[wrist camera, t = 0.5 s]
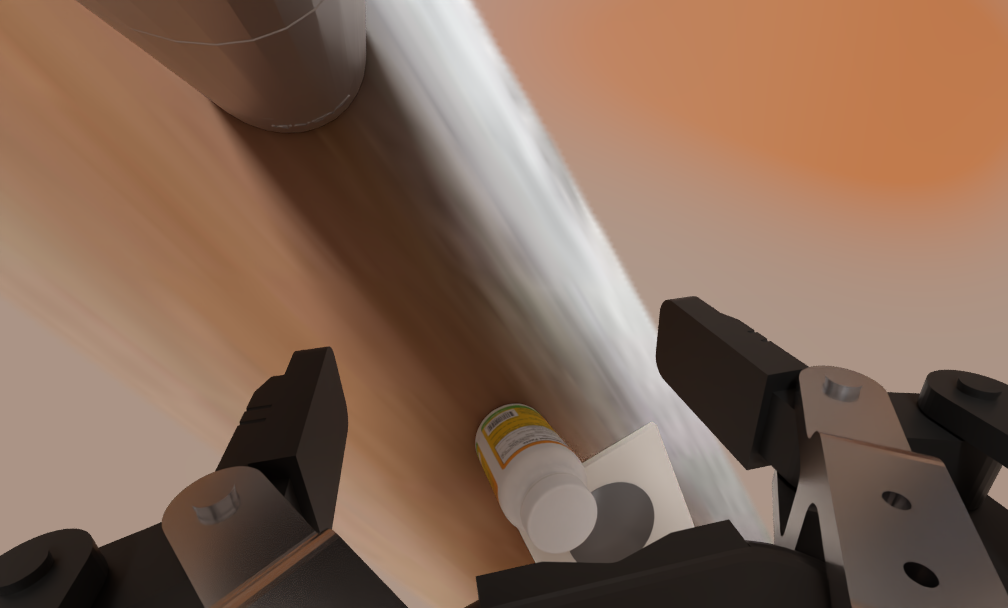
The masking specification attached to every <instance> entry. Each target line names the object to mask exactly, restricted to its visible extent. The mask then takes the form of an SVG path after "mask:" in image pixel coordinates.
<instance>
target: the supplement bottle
mask: <svg viewBox="0 0 1008 608" xmlns="http://www.w3.org/2000/svg"><path fill="white" fill-rule="evenodd" d="M475 448H476V453H477V456H478V458H479V461H480V463H481V465H482V467H483V469H484V472H485V474H486V476H487V478H488V480H489V483H490V485H491V487H492V489H493V491H494V494H495V496H496V498H497V500H498V503H499V505H500V507H501V509H502V511H503V513H504V514H505V516H506V518H507V519H508V520H509V521H510V522H511V523H512V524H513V525H514V526H515V527H517V528H519V529H520V530H523V531H525V532H527V534H528V536H529V538H530V540H531V541H532V543H533V544H534V545H535V546H536V547H537V548H538V549H540V550H542V551H544V552H547V553H551V554H559V553H565V552H568V551H570V550H572V549H574V548H576V547H577V546H579V545H580V544H581V543H583V542H584V541H585V540H586V538H587V537H588V536H589V535H590V533H591V532H592V530H593V528H594V526H595V523H596V519H597V505H596V501H595V499H594V497H593V495H592V494H591V492H590V491H589V490H588V488H587V476H586V471H585V469H584V466H583V464H582V463H581V461H580V460H579V458H578V457H577V456H576V455H575V453H574V452H573V451H572V450H571V449H570V448H569V447H568V446H567V444H566V443H565V442H564V441H563V440H562V439H561V438H560V436H559V435H558V434H557V433H556V432H555V431H554V430H553V428H552V427H551V426H550V425H549V424H548V423H547V421H546V420H545V419H544V418H543V417H542V416H541V415H540V414H539V413H538V412H537V411H536V410H535V409H533V408H531V407H529V406H527V405H523V404H507V405H504V406H501V407H499V408H497V409H495V410H493V411H492V412H491V413H489V414H488V415H487V416H486V417H485V418H484V420H483V421H482V422H481V424H480V426H479V428H478V431H477V434H476V439H475Z"/></svg>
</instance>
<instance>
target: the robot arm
mask: <svg viewBox="0 0 1008 608" xmlns="http://www.w3.org/2000/svg"><path fill="white" fill-rule="evenodd" d="M76 1H78V2H79V3H80V4H82V5H83V6H84V7H86V8H87V9H88V10H90V11H91V12H92V13H94V14H95V15H97V16H98V17H99V18H101V19H102V20H103V21H105V22H106V23H107V24H109V25H110V26H111V27H113V28H114V29H115V30H117V31H118V32H120V33H121V34H122V35H124V36H125V37H126V38H128V39H129V40H130V41H132V42H133V43H134V44H136V45H137V46H138V47H140V48H141V49H143V50H144V51H145V52H147V53H148V54H149V55H151V56H152V57H153V58H155V59H156V60H157V61H159V62H160V63H161V64H163V65H164V66H165V67H167V68H168V69H170V70H171V71H172V72H174V73H175V74H176V75H178V76H179V77H180V78H182V79H183V80H184V81H186V82H187V83H188V84H190V85H191V86H193V87H194V88H195V89H196V90H198V91H199V92H200V93H202V94H203V95H204V96H206V97H207V98H208V99H210V100H211V101H212V102H214V103H215V104H216V105H218V106H219V107H221V108H222V109H223V110H225V111H226V112H227V113H229V114H231V115H232V116H234V117H236V118H238V119H239V120H241V121H243V122H245V123H247V124H249V125H252V126H255V127H258V128H261V129H264V130H268V131H275V132H282V133H291V132H304V131H308V130H311V129H315V128H319V127H321V126H323V125H325V124H327V123H329V122H330V121H332V120H334V119H336V118H337V117H338V116H339V115H340V114H341V113H342V112H343V111H345V110H346V109H347V108H348V107H349V105H350V104H351V102H352V101H353V99H354V98H355V96H356V95H357V93H358V91H359V88H360V85H361V83H362V80H363V78H364V71H365V65H366V0H76ZM656 363H657V367H658V370H659V373H660V375H661V377H662V378H663V379H664V380H665V381H666V383H667V384H668V385H669V386H670V387H671V388H672V389H673V390H674V391H675V392H676V393H677V395H678V396H679V397H680V398H681V399H682V400H683V401H684V402H685V403H686V404H687V405H688V407H689V408H690V409H691V410H692V411H693V412H694V413H695V414H696V415H697V416H698V418H699V419H700V420H701V421H702V422H703V423H704V424H705V425H706V426H707V427H708V428H709V430H710V431H711V432H712V433H713V434H714V435H715V436H716V437H717V438H718V439H719V440H720V442H721V443H722V444H723V445H724V446H725V447H726V448H727V449H728V450H729V451H730V452H731V454H732V455H733V456H734V457H735V458H736V459H737V460H738V461H739V462H740V463H741V464H742V465H743V467H744V468H745V469H746V470H750V469H755V468H760V467H765V466H769V465H772V467H773V468H774V469H775V472H774V476H773V480H772V497H773V520H774V521H773V522H774V544H769V543H763V542H756V541H747V540H744V539H743V537H742V536H741V535H740V533H739V532H738V531H737V529H736V528H735V527H734V526H733V524H732V523H731V522H730V520H725V521H720V522H716V523H711V524H707V525H702V526H698V527H694V528H689V529H685V530H680V531H676V532H671V533H669V534H667V535H666V536H664V537H662V538H660V539H658V540H657V541H655V542H653V543H651V544H649V545H648V546H646V547H644V548H642V549H640V550H639V551H637V552H635V553H633V554H631V555H629V556H628V557H626V558H624V559H622V560H620V561H618V562H614V563H585V562H538V563H534V564H529V565H525V566H520V567H516V568H511V569H507V570H502V571H498V572H494V573H489V574H485V575H480V576H476V582H477V590H478V598H479V600H477V601H476V602H474V603H472V604H470V605H468V606H466V607H465V608H1008V510H1007V509H1006V508H1005V507H1003V506H1002V505H1001V504H999V503H998V502H996V501H995V500H994V499H992V498H991V497H990V496H988V495H987V494H988V492H989V490H990V488H991V486H992V484H993V482H994V480H995V479H996V476H997V475H998V473H999V471H1000V469H1001V467H1002V465H1003V466H1005V467H1006V468H1008V385H1007V384H1004V383H1002V382H1000V381H997V380H995V379H992V378H989V377H986V376H982V375H979V374H975V373H970V372H965V371H957V370H938V371H934V372H931V373H929V374H928V375H927V378H926V380H925V383H924V385H923V388H922V390H921V393H920V394H916V393H892V392H886V390H885V389H884V388H883V387H882V386H881V385H880V384H879V383H877V382H876V381H874V380H873V379H871V378H869V377H867V376H865V375H863V374H860V373H857V372H855V371H851V370H848V369H844V368H839V367H834V366H813V367H808V366H807V365H805V364H804V363H802V362H801V361H799V360H798V359H796V358H795V357H793V356H792V355H790V354H789V353H787V352H786V351H784V350H783V349H782V348H780V347H778V346H777V345H775V344H774V343H773V342H771V341H767V339H766V338H765V337H764V336H762V335H761V334H759V333H758V332H756V333H755V332H754V330H753V329H752V328H750V327H749V326H747V325H746V324H744V323H743V322H741V321H740V320H738V319H735V318H733V317H730V316H727V315H724V314H722V313H720V312H718V311H717V310H716V309H714V308H713V307H711V306H710V305H708V304H707V303H705V302H704V301H702V300H701V299H699V298H698V297H695V296H692V297H684V298H677V299H670V300H665V301H664V302H663V303H662V305H661V308H660V316H659V326H658V337H657V347H656ZM246 409H247V411H246V412H244V414H243V416H242V418H241V420H240V425H239V426H237V428H236V430H235V432H234V434H233V436H232V438H231V440H230V442H229V444H228V446H227V449H226V451H225V453H224V455H223V457H222V459H221V461H220V463H219V465H218V467H217V469H216V471H215V472H213V473H211V474H208V475H206V476H204V477H202V478H200V479H199V480H197V481H195V482H194V483H192V484H191V485H189V486H188V487H186V488H185V489H184V490H183V491H181V492H180V493H179V494H178V495H177V496H176V497H175V498H174V499H173V500H172V501H171V503H170V504H169V506H168V507H167V509H166V510H165V512H164V515H163V518H162V522H160V523H158V524H156V525H154V526H151V527H149V528H146V529H144V530H141V531H139V532H136V533H134V534H131V535H129V536H126V537H124V538H121V539H119V540H116V541H114V542H112V543H109V544H106V545H104V546H102V547H99V548H98V546H97V545H96V543H95V541H94V540H93V538H92V537H91V535H90V534H89V533H88V532H86V531H84V530H80V529H63V530H57V531H54V532H50V533H46V534H43V535H41V536H38V537H36V538H33V539H31V540H28V541H26V542H24V543H22V544H20V545H18V546H16V547H14V548H13V549H11V550H9V551H8V552H6V553H4V554H3V555H1V556H0V608H408V607H407V606H406V605H405V604H404V603H403V602H402V601H401V600H400V599H399V598H398V597H397V596H396V595H395V594H394V593H393V591H392V590H391V589H390V588H389V587H388V586H387V585H386V584H385V583H384V582H383V581H382V580H381V579H380V578H379V577H378V576H377V575H376V574H375V573H374V572H373V571H372V570H371V569H370V568H369V566H368V565H367V564H366V563H365V562H364V561H363V560H362V559H361V558H360V557H359V556H358V555H357V554H356V553H355V552H354V551H353V550H352V549H351V548H350V547H349V546H348V545H347V544H346V543H345V541H344V540H343V539H342V538H341V537H340V536H339V535H338V534H337V533H335V532H334V531H333V530H332V525H333V519H334V512H335V506H336V500H337V494H338V488H339V482H340V475H341V469H342V463H343V457H344V451H345V444H346V438H347V432H348V413H347V406H346V401H345V397H344V393H343V389H342V385H341V381H340V376H339V372H338V368H337V364H336V360H335V356H334V353H333V350H332V348H331V347H322V348H315V349H308V350H300V351H295V352H294V353H293V355H292V358H291V360H290V363H289V365H288V367H287V370H286V372H285V375H280V376H273V377H271V378H270V379H268V380H267V381H266V382H265V383H264V384H263V385H262V386H261V387H260V388H258V389H257V390H256V391H255V392H254V394H253V396H252V398H251V400H250V402H249V404H248V406H247V408H246Z"/></svg>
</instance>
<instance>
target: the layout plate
mask: <svg viewBox="0 0 1008 608" xmlns="http://www.w3.org/2000/svg"><path fill="white" fill-rule="evenodd" d="M582 464H583V466H584V469H585V471H586V476H587V488H588V490H589V491H590V492H591V494H592V495H593V497H594V499H595V501H596V505H597V519H596V523H595V526H594V528H593V530H592V532H591V533H590V535H589V536H588V537H587V538H586V540H585V541H584V542H583V543H581V544H580V545H579V546H577V547H576V548H574V549H572V550H570V551H568V552H565V553H559V554H551V553H547V552H544V551H542V550H540V549H538V548H537V547H536V546H535V545H534V544H533V543H532V541H531V540H530V538H529V536H528V534H527V532H525V531H523V530H520V529H519V528H518V530H519V532H520V534H521V536H522V538H523V540H524V542H525V544H526V546H527V547H528V549H529V551H530V553H531V555H532V557H533V559H534V561H535V563H538V562H585V563H614V562H618V561H620V560H622V559H624V558H626V557H628V556H629V555H631V554H633V553H635V552H637V551H639V550H640V549H642V548H644V547H646V546H648V545H649V544H651V543H653V542H655V541H657V540H658V539H660V538H662V537H664V536H666V535H667V534H669V533H671V532H676V531H680V530H685V529H689V528H694V524H693V521H692V519H691V516H690V513H689V511H688V508H687V505H686V503H685V500H684V497H683V495H682V492H681V489H680V487H679V484H678V481H677V479H676V476H675V473H674V471H673V468H672V465H671V463H670V460H669V457H668V455H667V452H666V449H665V446H664V444H663V441H662V438H661V436H660V433H659V430H658V428H657V425H656V424H655V423H653V422H650V423H649V424H647V425H645V426H643V427H642V428H640V429H638V430H637V431H635V432H633V433H632V434H630V435H628V436H627V437H625V438H623V439H622V440H620V441H618V442H617V443H615V444H613V445H612V446H610V447H608V448H607V449H605V450H603V451H602V452H600V453H598V454H597V455H595V456H593V457H592V458H590V459H588V460H586V461H585V462H583V463H582Z"/></svg>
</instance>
